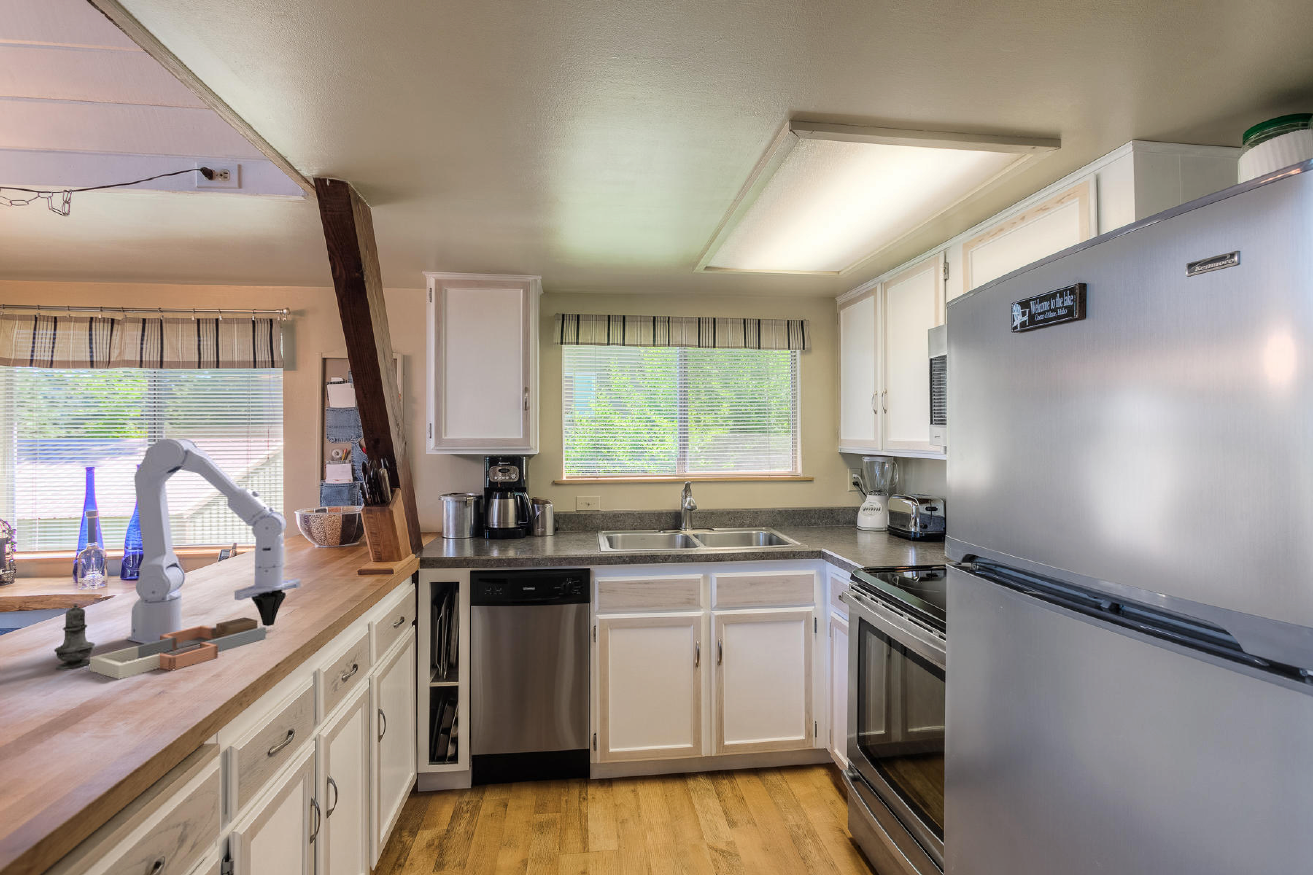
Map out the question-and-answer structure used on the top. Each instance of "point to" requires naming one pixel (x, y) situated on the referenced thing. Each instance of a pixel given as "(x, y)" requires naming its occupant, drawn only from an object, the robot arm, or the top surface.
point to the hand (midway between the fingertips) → (268, 624)
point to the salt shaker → (74, 641)
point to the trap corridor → (152, 659)
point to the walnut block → (235, 627)
